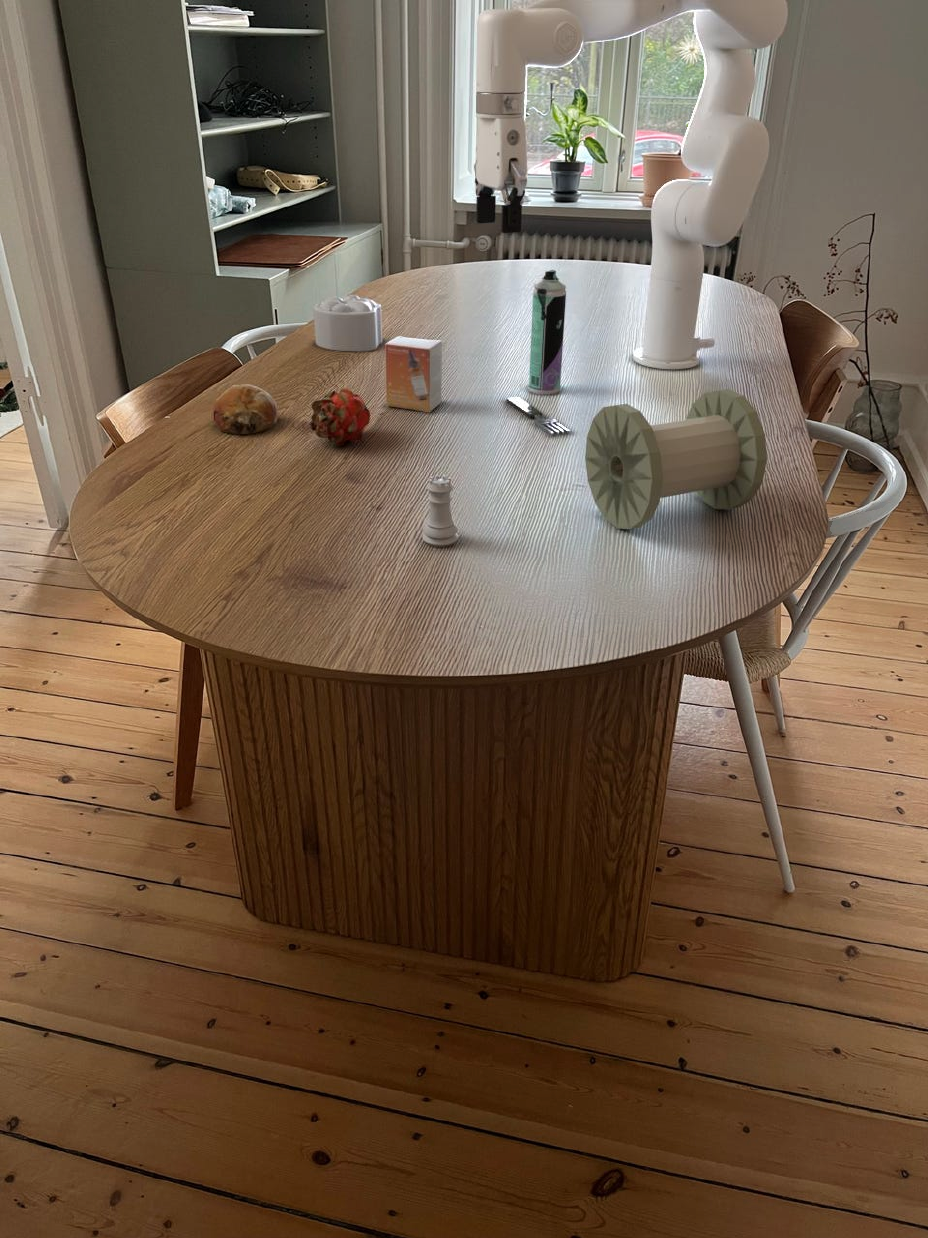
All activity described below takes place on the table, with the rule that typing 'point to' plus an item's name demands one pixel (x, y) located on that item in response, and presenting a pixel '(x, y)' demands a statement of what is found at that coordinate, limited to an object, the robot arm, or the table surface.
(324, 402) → the dragon fruit
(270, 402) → the bread roll
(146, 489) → the table surface
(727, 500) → the spool
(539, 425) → the fork
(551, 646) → the table surface
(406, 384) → the small box
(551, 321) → the spray can
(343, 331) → the lumpy-topped squat cylinder
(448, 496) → the rook chess piece
